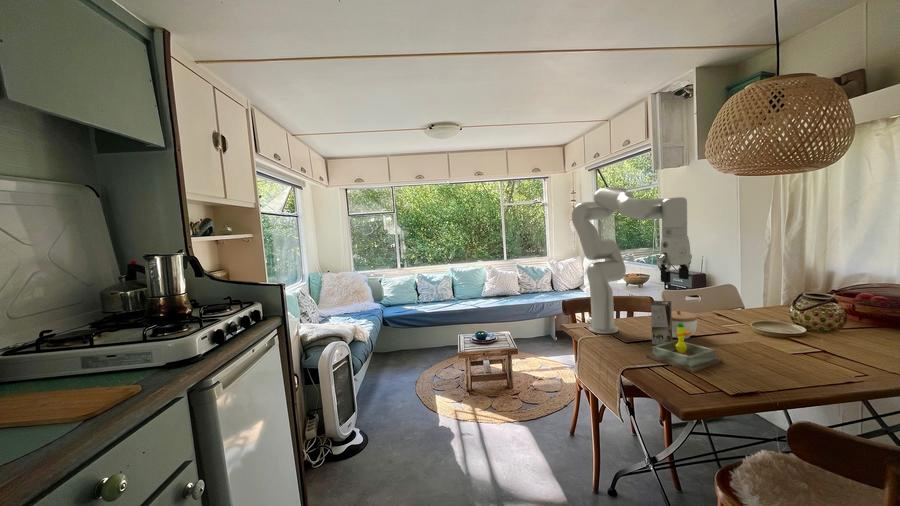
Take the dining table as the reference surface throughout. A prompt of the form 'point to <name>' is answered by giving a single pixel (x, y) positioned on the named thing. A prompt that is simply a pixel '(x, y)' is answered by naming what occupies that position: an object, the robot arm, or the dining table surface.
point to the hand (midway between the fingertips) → (674, 280)
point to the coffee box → (661, 322)
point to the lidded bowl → (685, 318)
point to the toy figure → (681, 338)
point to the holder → (684, 356)
